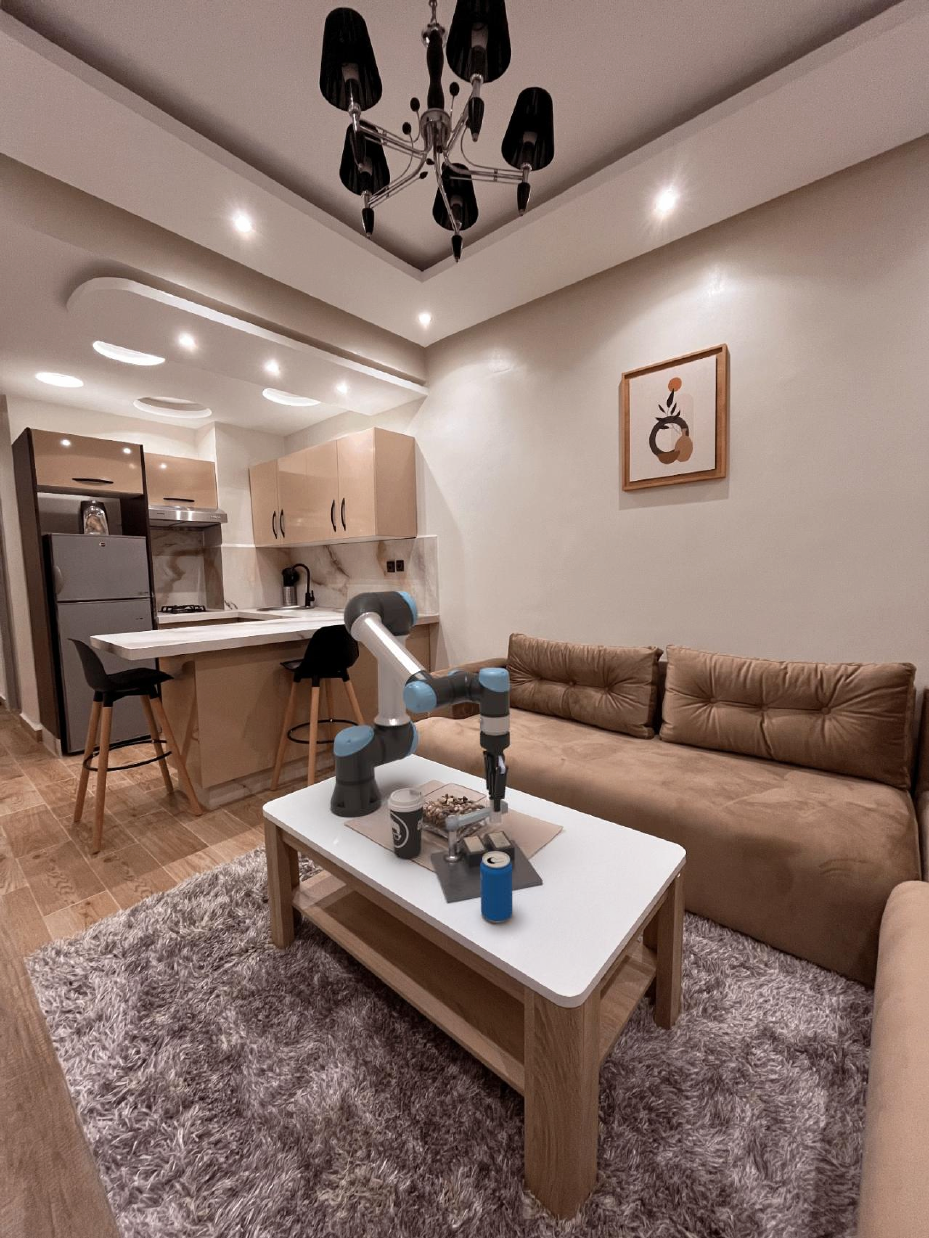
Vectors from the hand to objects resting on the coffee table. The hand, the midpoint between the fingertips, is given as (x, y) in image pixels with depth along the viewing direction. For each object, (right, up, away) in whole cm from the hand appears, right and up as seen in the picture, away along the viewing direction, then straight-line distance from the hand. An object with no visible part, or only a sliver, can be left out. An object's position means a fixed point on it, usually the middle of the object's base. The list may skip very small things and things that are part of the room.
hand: (495, 821), depth 126 cm
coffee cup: (-22, -8, 0) cm, 24 cm away
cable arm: (-5, +1, -1) cm, 5 cm away
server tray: (-3, -8, -8) cm, 12 cm away
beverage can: (-1, -10, -23) cm, 25 cm away
